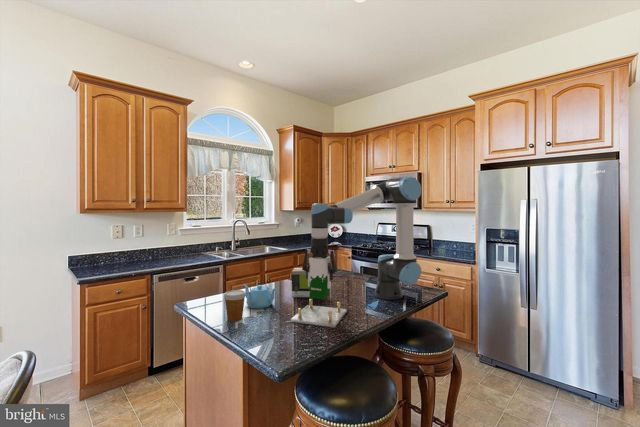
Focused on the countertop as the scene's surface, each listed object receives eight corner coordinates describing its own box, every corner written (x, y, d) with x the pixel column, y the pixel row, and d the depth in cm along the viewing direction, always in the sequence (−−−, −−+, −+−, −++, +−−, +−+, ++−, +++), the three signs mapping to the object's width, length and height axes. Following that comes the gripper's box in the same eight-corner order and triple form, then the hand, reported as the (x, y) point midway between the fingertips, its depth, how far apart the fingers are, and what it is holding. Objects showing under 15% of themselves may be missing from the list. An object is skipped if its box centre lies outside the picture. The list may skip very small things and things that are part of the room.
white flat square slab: (346, 311, 151) (346, 300, 151) (334, 327, 132) (334, 315, 132) (307, 307, 157) (307, 296, 157) (290, 321, 138) (290, 310, 138)
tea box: (320, 292, 182) (320, 267, 182) (318, 298, 172) (318, 271, 172) (294, 292, 184) (294, 266, 183) (291, 297, 174) (291, 270, 173)
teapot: (271, 299, 170) (270, 280, 169) (277, 308, 156) (277, 287, 155) (243, 303, 164) (243, 283, 164) (247, 312, 150) (247, 290, 150)
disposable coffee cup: (227, 315, 147) (227, 289, 146) (248, 315, 146) (248, 289, 146) (220, 323, 137) (220, 295, 137) (242, 323, 137) (242, 295, 136)
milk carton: (331, 294, 147) (332, 251, 146) (324, 300, 138) (325, 254, 138) (314, 292, 150) (314, 250, 149) (306, 298, 142) (306, 253, 141)
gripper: (344, 237, 143) (344, 286, 144) (300, 235, 150) (300, 282, 151) (340, 239, 136) (339, 291, 137) (294, 237, 143) (294, 286, 144)
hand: (319, 286), depth 144 cm, fingers closed on milk carton, 9 cm apart
